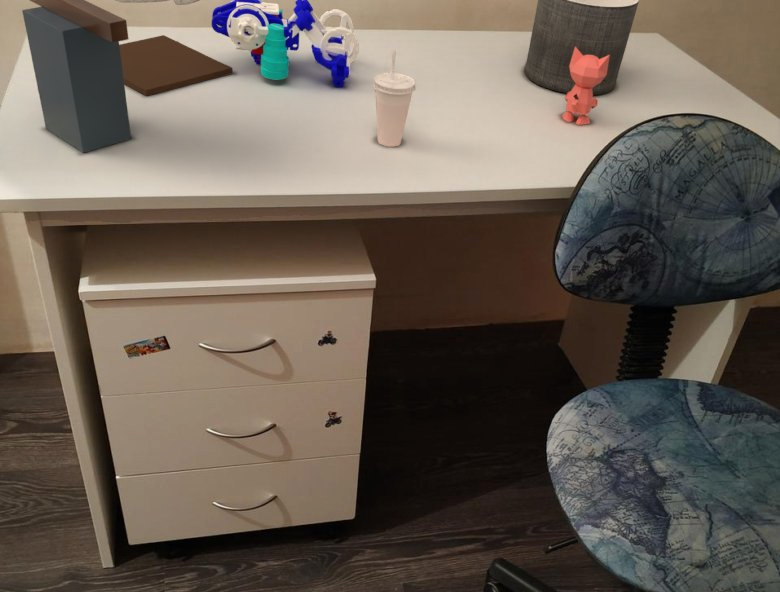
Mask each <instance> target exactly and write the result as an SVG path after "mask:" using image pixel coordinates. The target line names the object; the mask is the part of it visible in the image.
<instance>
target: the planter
mask: <svg viewBox="0 0 780 592" xmlns="http://www.w3.org/2000/svg"><path fill="white" fill-rule="evenodd" d="M639 2H640V0H537V4H536V9H535V15H534V20H533V24H532V30H531V36H530V40H529V47H528V52H527V57H526V61H525V65H524V70H523V72H524V75H525V76H526V78H528V79H529V80H530V81H531V82H533V83H535V84H537V85H538V86H541V87H542V88H545V89H548V90H551V91H555V92H558V93H564V94H567V93H568V92H570V91H571V90H572V89H573V87H574V86H575V84H576V83H575V82H574V80H573V79H572V77H571V73H570V67H569V65H570V62H571V58H572V55H573V52H574V48H575V46H576V48H577V49H578V50H579V51H580V52H581V54H582V55H583V56H584V55H594V56H596V57H598V59H601V58H603V57H606V56H608V55H610V57H609V63H608V69H607V75H606V76H605V78H604V79H603V80H605V81H606V82H605V81H603V80H602V82H601V83H599V84H597V85H596V86H594V87H592V92H593V96H597V95H604V94H607V93H609V92H611V91H613V90H614V89H615V88H616V85H617V81H618V77H619V73H620V69H621V65H622V63H623V58H624V55H625V53H626V49H627V45H628V42H629V39H630V34H631V32H632V31H631V30H632V27H633V25H634V20H635V16H636V13H637V9H638V5H639Z"/></svg>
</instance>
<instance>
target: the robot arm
mask: <svg viewBox="0 0 780 592" xmlns="http://www.w3.org/2000/svg"><path fill="white" fill-rule="evenodd" d="M115 1H116V2H119V3H125V4H131V3H133V4H135V3H136V4H137V3H139V4H140V3H162V2H168V1H170V0H115ZM173 1H174V4H175V5H177V6H186V5H191V4H194V3H196V2H199V1H200V0H173Z"/></svg>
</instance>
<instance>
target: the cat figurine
mask: <svg viewBox="0 0 780 592" xmlns="http://www.w3.org/2000/svg"><path fill="white" fill-rule="evenodd" d="M609 57H610V55H608V56H606V57H603V58H601V59H598V57H596V56H594V55H584V56H583V55H582V54H581V52H580V51H579V50H578V49H577V48H576V46H575V48H574V52H573V55H572V58H571V62H570V65H569V67H570V73H571V77H572V79H573V80H574V82H575V83H576V84H575V86H574V87H573V89H572V90H571V91H570V92H568V93H565V96H564V100H565V101H566V107H565V108H566V109H565V110H566V111H565V112H564V113H563V114H562V115H561V117H562V119H563V120H564V121H565V122H567V123H572V122H574V118H575V117H574V114H575V115H578V118H577V119H576V120H575V125H577V126H583V125H589V124H591V120H590V116H588V115H587V114H589V113H591V110H593V109H594V108H596V107H598V103H599V102H598V101H599V100H598V98H597V97H596V96H594V95H593V92H592V87H594V86H596V85H597V84H599V83H601V82H602V80H603V79H604V78H605V76H606V75H607V69H608V63H609ZM603 81H605V80H603ZM605 82H606V81H605Z"/></svg>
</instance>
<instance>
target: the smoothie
mask: <svg viewBox="0 0 780 592" xmlns="http://www.w3.org/2000/svg"><path fill="white" fill-rule="evenodd" d="M396 53H397V51H396V50H395V49H393V50H391V60H390V70H389V72H384V73H380V74H377V75H375V77H374V78H373V83H372V85H373V88H374V89H375V108H376V110H375V111H376V134H377V135H376V137H377V143H378V144H379V145H382V146H384V147H389V148H390V147H394V148H395V147H398V146H401V144H402V141H403V140H402V139H403V135H404V130H405V127H406V121H407V119H408V118H407V117H408V113H409V110H410V109H409V108H410V105H411V101H412V97H413V93H414V92H415V91H416V81H415V79H414V78H412V77H411V76H409V75H406V74H403V73H397V72H395V65H396V64H395V63H396V56H397V55H396Z"/></svg>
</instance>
